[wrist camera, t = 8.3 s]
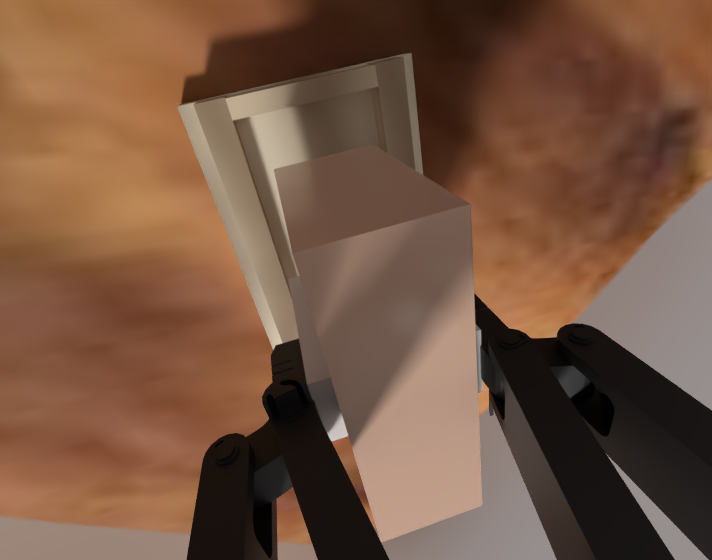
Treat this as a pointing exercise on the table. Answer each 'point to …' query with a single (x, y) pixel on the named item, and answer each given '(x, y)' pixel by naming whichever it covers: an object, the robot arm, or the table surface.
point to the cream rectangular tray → (293, 158)
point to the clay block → (393, 326)
